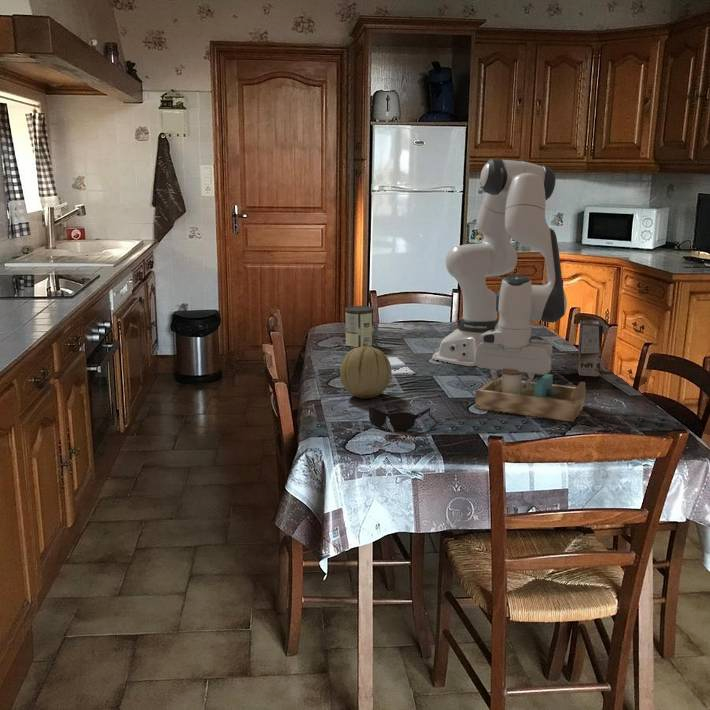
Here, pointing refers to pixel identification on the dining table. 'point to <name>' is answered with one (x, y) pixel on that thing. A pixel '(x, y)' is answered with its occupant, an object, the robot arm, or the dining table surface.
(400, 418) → the sunglasses
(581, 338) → the coffee box
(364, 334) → the coffee can
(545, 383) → the block
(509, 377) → the jar
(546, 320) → the robot arm
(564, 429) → the dining table surface
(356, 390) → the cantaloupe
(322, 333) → the dining table surface
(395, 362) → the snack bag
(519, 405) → the wooden tray
